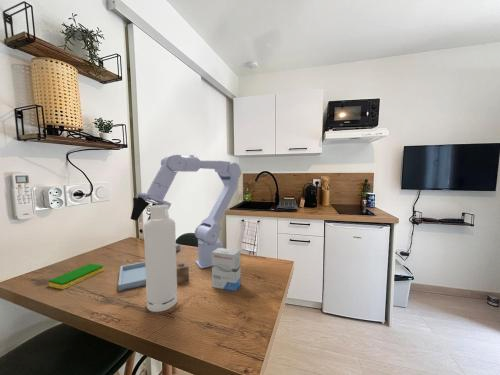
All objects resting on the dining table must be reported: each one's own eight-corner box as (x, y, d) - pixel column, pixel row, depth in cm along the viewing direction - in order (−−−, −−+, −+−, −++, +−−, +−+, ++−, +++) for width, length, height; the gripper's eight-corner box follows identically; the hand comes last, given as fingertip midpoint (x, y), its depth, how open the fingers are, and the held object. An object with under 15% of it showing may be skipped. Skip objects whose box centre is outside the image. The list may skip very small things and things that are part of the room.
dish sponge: (104, 271, 80) (104, 265, 80) (63, 290, 67) (62, 283, 67) (90, 269, 82) (90, 263, 82) (48, 287, 69) (47, 280, 69)
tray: (160, 263, 86) (160, 258, 86) (165, 280, 72) (165, 274, 72) (120, 271, 79) (120, 266, 79) (118, 291, 65) (118, 285, 65)
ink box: (241, 284, 70) (241, 249, 69) (235, 291, 65) (235, 255, 64) (218, 280, 72) (218, 246, 72) (211, 287, 68) (210, 252, 67)
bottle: (153, 295, 63) (150, 204, 62) (180, 293, 64) (178, 203, 62) (141, 312, 55) (137, 208, 54) (172, 310, 56) (169, 208, 54)
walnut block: (186, 275, 76) (185, 261, 76) (188, 280, 72) (188, 266, 72) (174, 278, 74) (174, 264, 74) (176, 283, 70) (176, 268, 70)
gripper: (137, 177, 71) (116, 213, 68) (167, 185, 65) (146, 226, 61) (152, 185, 77) (134, 219, 74) (181, 194, 71) (162, 231, 67)
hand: (140, 223), depth 68 cm, fingers open, 7 cm apart
